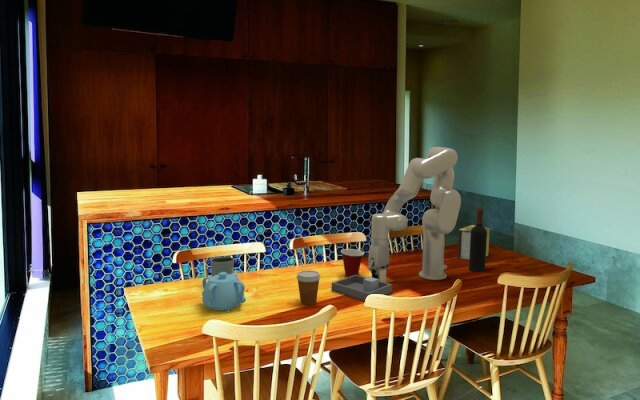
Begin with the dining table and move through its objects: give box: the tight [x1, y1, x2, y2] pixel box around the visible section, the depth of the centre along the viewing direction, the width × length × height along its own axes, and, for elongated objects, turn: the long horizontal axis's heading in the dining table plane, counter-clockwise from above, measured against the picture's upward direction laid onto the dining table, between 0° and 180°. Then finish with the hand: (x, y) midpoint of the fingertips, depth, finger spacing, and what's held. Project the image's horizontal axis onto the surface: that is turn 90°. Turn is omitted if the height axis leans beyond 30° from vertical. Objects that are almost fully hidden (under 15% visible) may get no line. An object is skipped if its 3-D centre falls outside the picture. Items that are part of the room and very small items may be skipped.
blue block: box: [363, 276, 379, 292], centre depth 220 cm, size 4×4×6 cm
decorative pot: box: [201, 272, 247, 312], centre depth 206 cm, size 16×16×14 cm
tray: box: [331, 274, 393, 302], centre depth 224 cm, size 16×20×4 cm
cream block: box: [374, 267, 387, 283], centre depth 237 cm, size 4×4×6 cm
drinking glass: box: [209, 256, 235, 277], centre depth 231 cm, size 10×10×12 cm
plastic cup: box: [340, 248, 365, 278], centre depth 245 cm, size 11×11×12 cm
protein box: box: [457, 224, 491, 261], centre depth 279 cm, size 10×15×16 cm
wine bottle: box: [468, 208, 487, 273], centre depth 254 cm, size 8×8×30 cm
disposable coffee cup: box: [296, 270, 321, 306], centre depth 210 cm, size 10×10×12 cm
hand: (378, 280), depth 238 cm, fingers open, 5 cm apart
